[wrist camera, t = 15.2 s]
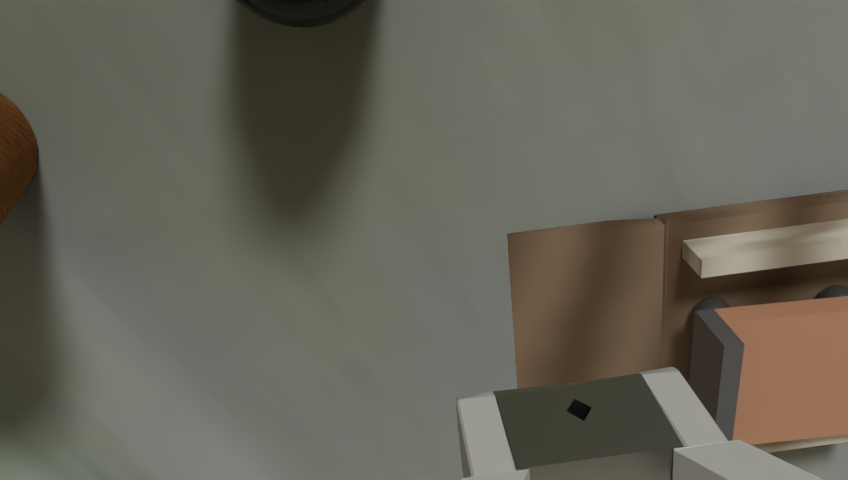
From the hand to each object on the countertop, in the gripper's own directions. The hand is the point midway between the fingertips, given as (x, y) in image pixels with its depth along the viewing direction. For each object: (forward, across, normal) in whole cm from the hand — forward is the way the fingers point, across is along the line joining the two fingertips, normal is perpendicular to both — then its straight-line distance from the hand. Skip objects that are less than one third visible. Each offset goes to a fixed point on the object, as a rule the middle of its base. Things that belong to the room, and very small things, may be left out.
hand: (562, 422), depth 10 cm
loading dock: (+30, -15, +18) cm, 38 cm away
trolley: (+28, -18, +19) cm, 38 cm away
